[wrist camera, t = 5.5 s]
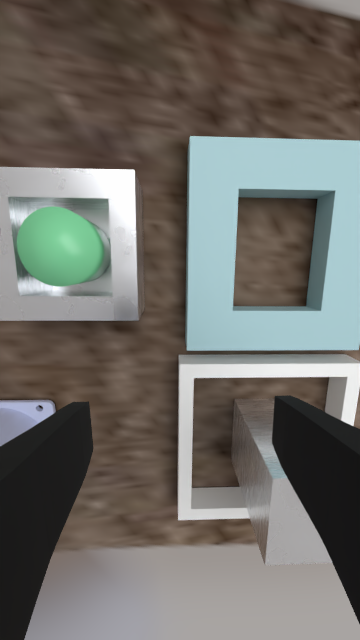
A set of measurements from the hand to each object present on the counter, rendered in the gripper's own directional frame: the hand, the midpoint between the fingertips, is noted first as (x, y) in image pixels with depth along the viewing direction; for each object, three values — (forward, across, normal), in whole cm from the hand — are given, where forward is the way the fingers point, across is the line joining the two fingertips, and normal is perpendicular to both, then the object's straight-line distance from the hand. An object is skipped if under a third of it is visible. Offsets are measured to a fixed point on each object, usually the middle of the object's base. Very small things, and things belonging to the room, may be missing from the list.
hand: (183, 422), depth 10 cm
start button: (+9, +6, -7) cm, 13 cm away
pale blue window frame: (+10, -7, -7) cm, 14 cm away
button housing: (+10, +6, -7) cm, 14 cm away
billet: (+10, -6, +7) cm, 14 cm away
